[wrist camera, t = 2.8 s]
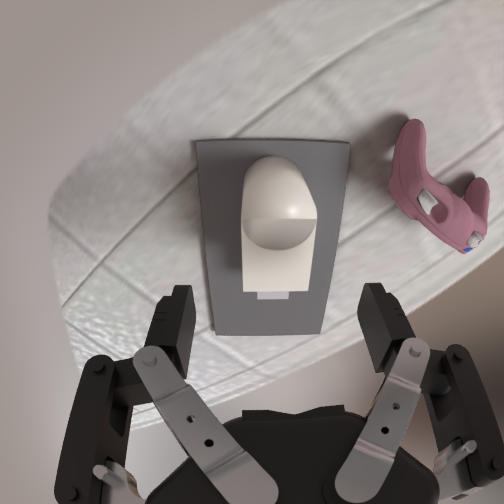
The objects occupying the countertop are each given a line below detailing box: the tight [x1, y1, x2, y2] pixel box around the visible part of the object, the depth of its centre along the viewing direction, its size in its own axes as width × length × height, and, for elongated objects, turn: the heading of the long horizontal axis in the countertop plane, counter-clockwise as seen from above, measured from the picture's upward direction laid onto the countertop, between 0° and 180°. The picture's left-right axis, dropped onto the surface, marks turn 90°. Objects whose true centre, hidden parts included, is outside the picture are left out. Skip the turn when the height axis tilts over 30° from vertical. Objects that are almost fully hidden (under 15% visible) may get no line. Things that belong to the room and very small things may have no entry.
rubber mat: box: [196, 139, 351, 336], centre depth 24 cm, size 18×10×1 cm, turn 0°
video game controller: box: [388, 119, 490, 254], centre depth 18 cm, size 10×5×7 cm, turn 65°
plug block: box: [241, 155, 317, 299], centre depth 20 cm, size 9×4×5 cm, turn 0°
